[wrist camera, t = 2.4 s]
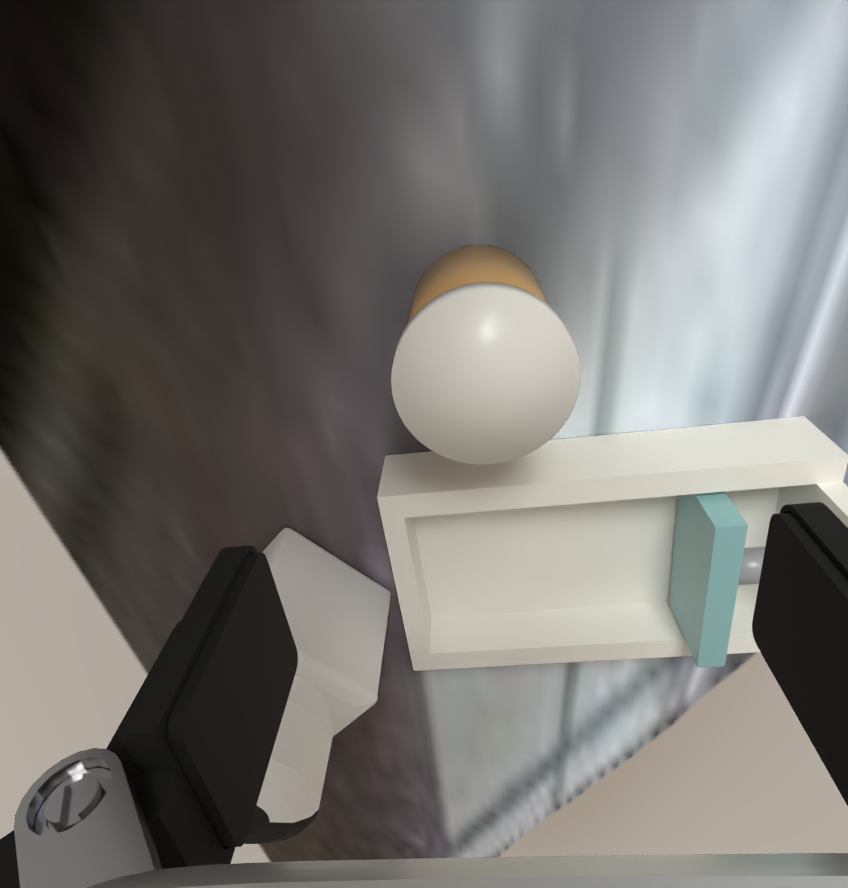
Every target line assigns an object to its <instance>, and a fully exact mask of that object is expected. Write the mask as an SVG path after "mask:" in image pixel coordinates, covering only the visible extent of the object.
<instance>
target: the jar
mask: <svg viewBox="0 0 848 888" xmlns="http://www.w3.org/2000/svg"><path fill="white" fill-rule="evenodd" d="M391 387H392V395H393V399H394V403H395V406H396V409H397V411H398V414H399V416H400V418H401V419H402V421H403V423H404V425H405V426H406V427H407V429H408V430H409V431H410V432H411V434H412V435H413V436H414V437H415V438H416V439H417V440H418V441H419V442H421V443H422V444H423V445H425V446H426V447H427V448H429V449H430V450H432V451H434V452H435V453H437V454H439V455H441V456H444V457H446V458H448V459H452V460H455V461H458V462H463V463H468V464H480V465H482V464H497V463H503V462H507V461H511V460H515V459H517V458H520V457H523V456H525V455H527V454H529V453H531V452H533V451H535V450H537V449H538V448H539V447H541V446H542V445H544V444H545V443H546V442H548V441H549V440H550V439H551V438H552V437H553V436H554V435H555V434H556V433H557V432H558V431H559V430H560V429H561V428H562V426H563V425H564V423H565V422H566V421H567V419H568V418H569V416H570V414H571V412H572V410H573V408H574V405H575V402H576V400H577V396H578V392H579V387H580V363H579V358H578V354H577V351H576V348H575V345H574V343H573V340H572V338H571V336H570V334H569V332H568V330H567V329H566V327H565V325H564V323H563V322H562V320H561V318H560V317H559V316H558V315H557V313H556V312H555V311H554V310H553V309H552V308H551V307H550V306H549V305H548V304H547V301H546V299H545V297H544V295H543V293H542V291H541V289H540V287H539V284H538V282H537V280H536V278H535V277H534V275H533V273H532V271H531V270H530V269H529V268H528V266H527V265H526V264H525V263H524V262H523V261H522V260H521V259H519V258H518V257H517V256H515V255H514V254H512V253H510V252H508V251H506V250H504V249H501V248H499V247H495V246H490V245H469V246H464V247H460V248H457V249H454V250H452V251H450V252H448V253H446V254H444V255H443V256H441V257H440V258H438V259H437V260H436V261H435V262H434V263H433V264H432V265H431V266H430V267H429V268H428V269H427V270H426V272H425V273H424V275H423V276H422V278H421V279H420V282H419V284H418V286H417V288H416V291H415V295H414V299H413V304H412V309H411V313H410V318H409V322H408V324H407V326H406V327H405V329H404V331H403V333H402V335H401V337H400V339H399V342H398V345H397V348H396V352H395V357H394V361H393V366H392V372H391Z"/></svg>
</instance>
